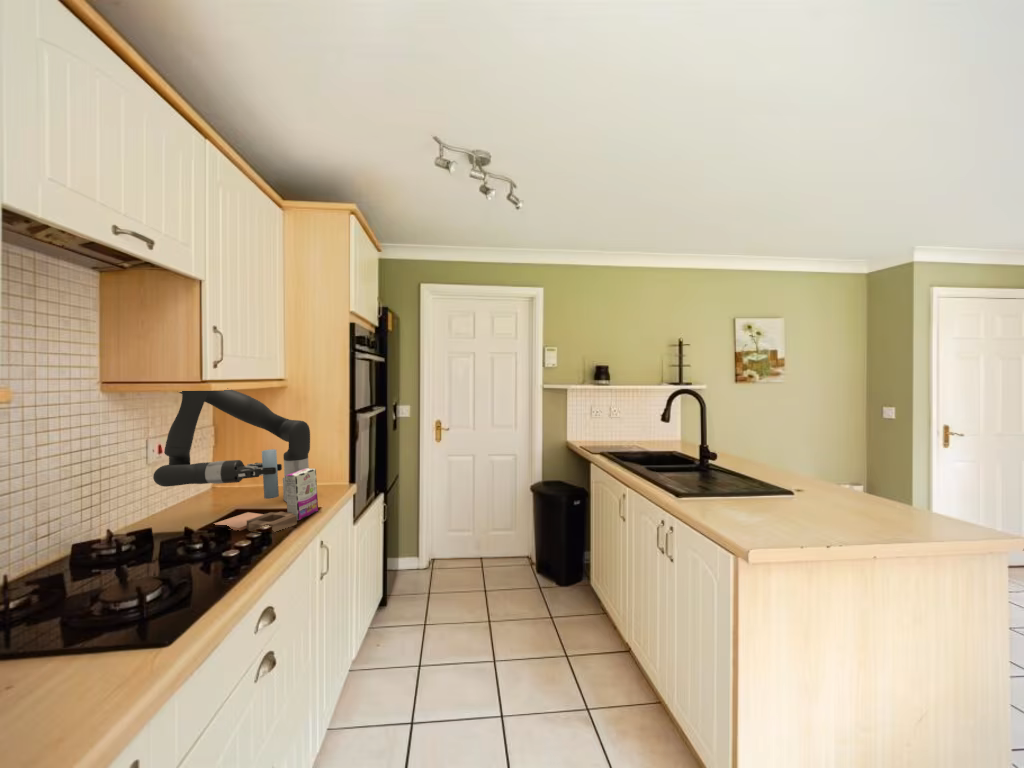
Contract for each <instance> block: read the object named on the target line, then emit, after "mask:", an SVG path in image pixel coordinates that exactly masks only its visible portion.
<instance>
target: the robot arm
mask: <svg viewBox="0 0 1024 768" xmlns="http://www.w3.org/2000/svg"><path fill="white" fill-rule="evenodd" d="M178 393H179V394H181V397H182V398H181V404H180V407H179V409H178V413H177V415H176V416H175V418H174V420H173V422H172V424H171V426H170V428H169V430H168V434H167V437H166V441H165V447H164V450H163V451H164V455H165V456H167V457H168V464H165V465H161V466H160V467H158V468H157V469H156V470H155V471H154V473H153V475H152V477H153V480H154V482H155V483H156V484H157V485H158V486H159V487H175V486H183V485H203V484H214V485H215V484H216V485H217V484H231V483H232V484H233V483H234V484H235V483H241V482H242V480H243V479H252V478H259V477H263V475H267V474H275V473H276V467H269V468H264V469H263V466H262V462H255V463H247V465H245V464H244V462H243V461H242V460H241V459H232V460H217V461H212V462H211V461H210V462H197V463H191V450H192V449H191V448H192V445H193V441H194V436H195V432H196V429H197V428H196V427H197V424H198V421H199V417H200V415H201V412H202V410H203V407H204V404H205V403H207V404H209V405H211V406H212V407H214V408H217V409H218V410H220V411H222V412H224V413H226V414H227V415H229V416H231V417H232V418H235V419H237V420H240V421H242V422H244V423H246V424H249V425H251V426H254V427H257V428H259V429H262V430H265V431H266V432H267V431H268V432H269V433H270V434H273V435H274V436H276V437H278V438H279V439H280V440H282V441H284V442H288V449H287V451H285V452H284V453H283V465H282V463H277V471H278V472H281V471H282V469H283V476H284V477H283V478H282V492H283V493H282V494H283V501H285V503H287V495H286V480H285V476H286V475H289V474H291V473H294V472H297V471H300V470H303V469H306V468H308V469H309V468H310V465H309V464H310V463H309V453H310V450H311V430H310V429H311V428H310V427H309V424H308V423H307V422H305V421H303V420H297V419H289V418H286V417H283V416H281V415H278V414H277V413H274V411H272V410H271V409H270V408H269V407H268V406H267V405H266V404H265V403H263V402H261V400H258V399H256V398H254V397H252V396H250V395H248V394H245V393H242V392H239V391H237V390H234V389H231V390H224V391H182V392H178ZM282 466H283V467H282Z"/></svg>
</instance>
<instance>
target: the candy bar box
mask: <svg viewBox="0 0 1024 768" xmlns="http://www.w3.org/2000/svg"><path fill="white" fill-rule="evenodd" d="M285 480H286V495H287V502H286V509H287V510H286V511H287V513H294V515H296V516H297V521H301V520H303V519H305V518H307V517H309V516H311V515H312V514H315V513H317V512H319V501H318V485H317V482H318V481H317V469H316V468H310V467H309V469H308V468H306V469H303V470H300V471H297V472H294V473H291V474H289V475H286V476H285Z"/></svg>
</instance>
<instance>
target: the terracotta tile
mask: <svg viewBox="0 0 1024 768" xmlns="http://www.w3.org/2000/svg"><path fill="white" fill-rule="evenodd" d="M264 514H265V513H264ZM264 514H263V513H256V512H249V511H247V512H244V513H241V514H238V515H236V516H233V517H229V518H227V519H224V520H223V519H222V520H220V521H218V522H214V523H213V524H215V525H227V526H229V527H230V528H231V529H233V530H232V531H237V530H239V531H238V532H240V531H243V530H247V520H250V519H253V518H256V517H259V516H261V515H264ZM231 529H230V530H231Z"/></svg>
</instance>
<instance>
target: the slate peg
mask: <svg viewBox="0 0 1024 768" xmlns="http://www.w3.org/2000/svg"><path fill="white" fill-rule="evenodd" d="M277 456H278V454H277V449H273V448H272V449H265V450H262V451H261V463H262V466H263V469H264V468H269V467H276V473H275V474H267V475H263V476H262V481H263V482H262V483H263V493H264V494H263V497H264V499H265V500H266V499H267V500H268V499H269V500H270V499H276V498H278V497H279V495H280V494H279V492H280V491H279V477H278V474H279V473H278V472H279V471H277V464H278V457H277Z"/></svg>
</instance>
